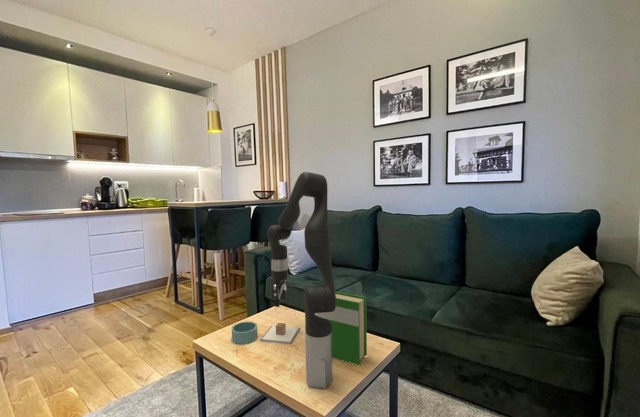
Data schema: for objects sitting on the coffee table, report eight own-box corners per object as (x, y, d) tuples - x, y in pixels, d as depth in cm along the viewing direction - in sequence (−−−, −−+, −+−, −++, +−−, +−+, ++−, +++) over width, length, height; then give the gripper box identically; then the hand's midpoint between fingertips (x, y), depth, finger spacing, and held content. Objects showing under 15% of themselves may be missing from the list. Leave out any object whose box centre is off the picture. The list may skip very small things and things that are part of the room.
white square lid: (290, 342, 126) (289, 332, 125) (262, 340, 128) (261, 330, 128) (298, 329, 138) (298, 319, 138) (272, 327, 141) (272, 317, 141)
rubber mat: (291, 345, 124) (291, 344, 124) (259, 342, 127) (259, 341, 127) (301, 329, 139) (300, 328, 139) (271, 326, 142) (271, 325, 142)
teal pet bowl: (250, 346, 124) (250, 333, 124) (227, 344, 126) (227, 331, 126) (261, 334, 135) (260, 322, 134) (239, 332, 137) (239, 320, 137)
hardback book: (366, 356, 115) (366, 297, 114) (359, 366, 109) (358, 303, 107) (328, 344, 124) (327, 289, 123) (319, 353, 118) (318, 295, 117)
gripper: (282, 272, 124) (283, 309, 125) (292, 264, 138) (293, 297, 139) (265, 272, 126) (266, 308, 126) (277, 264, 139) (278, 297, 140)
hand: (280, 303), depth 133 cm, fingers open, 8 cm apart
